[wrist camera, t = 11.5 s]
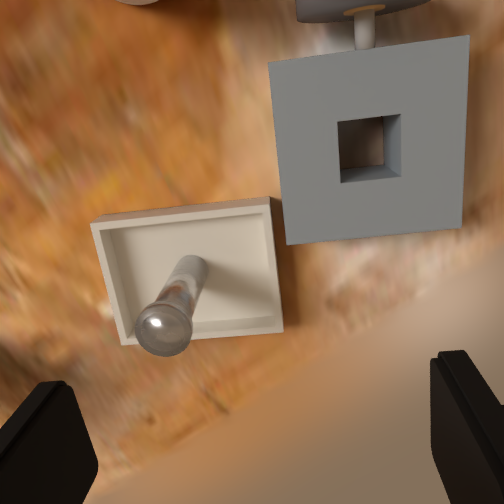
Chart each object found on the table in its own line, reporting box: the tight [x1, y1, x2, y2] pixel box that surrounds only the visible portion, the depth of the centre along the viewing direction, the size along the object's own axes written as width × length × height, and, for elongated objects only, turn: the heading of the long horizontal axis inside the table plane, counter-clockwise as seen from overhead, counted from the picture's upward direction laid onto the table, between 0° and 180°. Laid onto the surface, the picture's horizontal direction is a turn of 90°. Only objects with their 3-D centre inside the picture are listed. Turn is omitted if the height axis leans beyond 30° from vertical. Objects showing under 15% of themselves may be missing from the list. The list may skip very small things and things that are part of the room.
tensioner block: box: [268, 0, 470, 245], centre depth 28 cm, size 12×16×8 cm
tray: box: [90, 196, 284, 345], centre depth 36 cm, size 14×11×2 cm
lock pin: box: [135, 255, 209, 357], centre depth 32 cm, size 4×4×10 cm
